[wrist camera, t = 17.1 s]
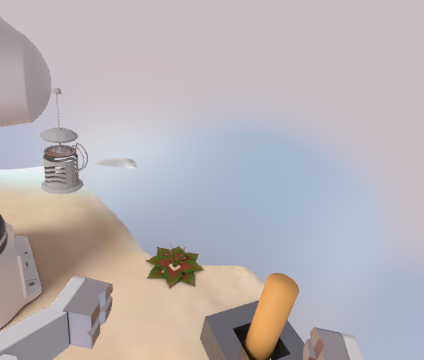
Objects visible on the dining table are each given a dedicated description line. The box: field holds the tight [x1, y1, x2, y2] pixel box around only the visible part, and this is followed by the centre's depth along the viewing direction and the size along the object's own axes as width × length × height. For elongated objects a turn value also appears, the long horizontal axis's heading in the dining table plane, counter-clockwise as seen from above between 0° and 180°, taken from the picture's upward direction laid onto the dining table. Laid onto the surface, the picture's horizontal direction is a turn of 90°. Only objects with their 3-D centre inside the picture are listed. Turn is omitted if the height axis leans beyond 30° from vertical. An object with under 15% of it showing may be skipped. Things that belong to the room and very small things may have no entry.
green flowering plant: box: [147, 247, 203, 289], centre depth 57 cm, size 12×12×5 cm
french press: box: [40, 88, 88, 194], centre depth 71 cm, size 10×12×25 cm
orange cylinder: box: [243, 273, 299, 360], centre depth 39 cm, size 4×4×16 cm
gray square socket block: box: [200, 301, 305, 360], centre depth 42 cm, size 12×12×5 cm
